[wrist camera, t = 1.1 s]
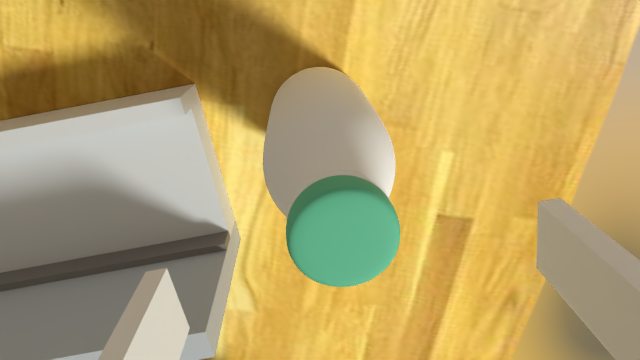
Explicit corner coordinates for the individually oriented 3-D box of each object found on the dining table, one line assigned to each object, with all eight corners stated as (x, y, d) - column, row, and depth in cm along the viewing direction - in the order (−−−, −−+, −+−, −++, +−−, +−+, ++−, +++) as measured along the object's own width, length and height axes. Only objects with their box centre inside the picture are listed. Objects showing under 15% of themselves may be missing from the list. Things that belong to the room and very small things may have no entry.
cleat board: (-17, 286, 40) (-163, 424, 27) (-103, 140, 35) (-338, 227, 22) (240, 239, 40) (214, 356, 27) (195, 83, 34) (134, 138, 21)
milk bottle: (257, 81, 34) (214, 183, 16) (353, 52, 34) (422, 123, 15) (288, 169, 37) (281, 340, 19) (375, 143, 37) (456, 294, 18)
